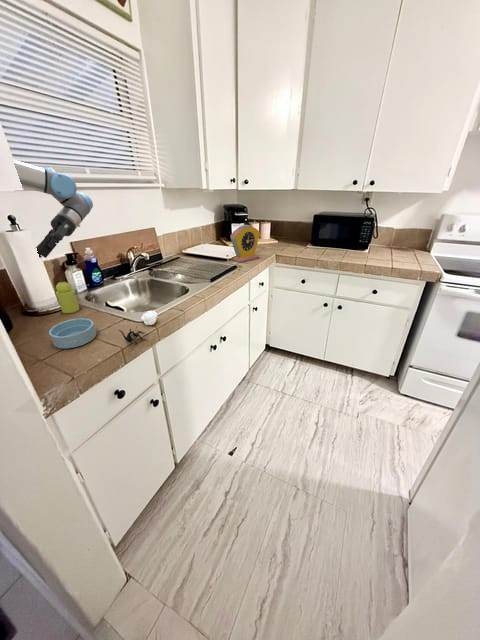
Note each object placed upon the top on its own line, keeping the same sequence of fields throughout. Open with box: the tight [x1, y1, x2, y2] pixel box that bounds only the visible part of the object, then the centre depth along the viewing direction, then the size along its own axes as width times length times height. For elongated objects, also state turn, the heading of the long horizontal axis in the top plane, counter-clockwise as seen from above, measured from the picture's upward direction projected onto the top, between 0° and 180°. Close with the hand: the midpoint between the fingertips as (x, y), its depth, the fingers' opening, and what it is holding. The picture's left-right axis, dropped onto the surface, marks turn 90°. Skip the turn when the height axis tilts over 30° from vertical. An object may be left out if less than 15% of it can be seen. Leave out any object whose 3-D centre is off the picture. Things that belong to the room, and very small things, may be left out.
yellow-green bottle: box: [55, 278, 80, 314], centre depth 101 cm, size 6×6×13 cm
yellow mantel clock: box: [229, 224, 261, 264], centre depth 167 cm, size 22×9×22 cm, turn 131°
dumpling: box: [140, 310, 158, 326], centre depth 94 cm, size 7×5×4 cm
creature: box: [118, 326, 146, 344], centre depth 83 cm, size 8×5×8 cm
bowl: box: [48, 317, 97, 349], centre depth 84 cm, size 12×12×4 cm
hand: (33, 260), depth 91 cm, fingers open, 13 cm apart
